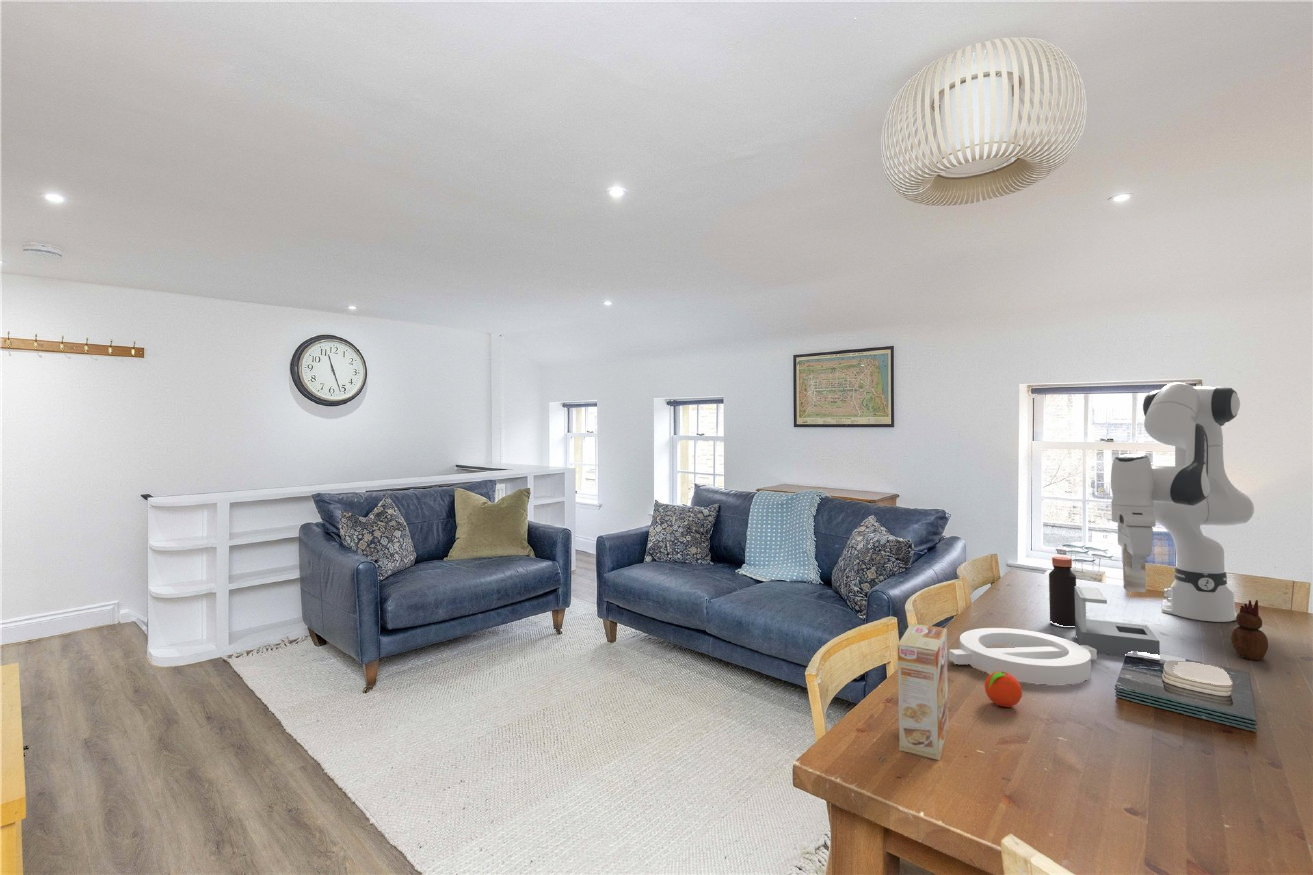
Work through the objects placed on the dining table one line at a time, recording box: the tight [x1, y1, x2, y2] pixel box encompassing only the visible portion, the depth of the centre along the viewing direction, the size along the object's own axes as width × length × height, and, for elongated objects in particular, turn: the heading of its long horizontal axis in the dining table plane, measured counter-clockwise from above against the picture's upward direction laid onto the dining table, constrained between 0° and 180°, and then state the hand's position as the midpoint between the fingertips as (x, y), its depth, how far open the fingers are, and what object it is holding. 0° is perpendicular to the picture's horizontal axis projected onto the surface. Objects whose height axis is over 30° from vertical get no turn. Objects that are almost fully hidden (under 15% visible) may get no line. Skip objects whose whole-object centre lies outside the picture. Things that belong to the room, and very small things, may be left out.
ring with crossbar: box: [948, 627, 1098, 686], centre depth 152 cm, size 28×28×5 cm
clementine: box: [984, 672, 1023, 708], centre depth 128 cm, size 8×7×7 cm
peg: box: [1121, 543, 1147, 593], centre depth 159 cm, size 4×4×12 cm
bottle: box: [1048, 556, 1077, 626], centre depth 181 cm, size 7×7×20 cm
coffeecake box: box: [896, 623, 949, 761], centre depth 115 cm, size 15×7×20 cm, turn 148°
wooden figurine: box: [1230, 599, 1269, 661], centre depth 152 cm, size 7×6×15 cm
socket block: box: [1074, 585, 1161, 657], centre depth 161 cm, size 14×16×14 cm
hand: (1133, 568), depth 159 cm, fingers closed on peg, 4 cm apart
